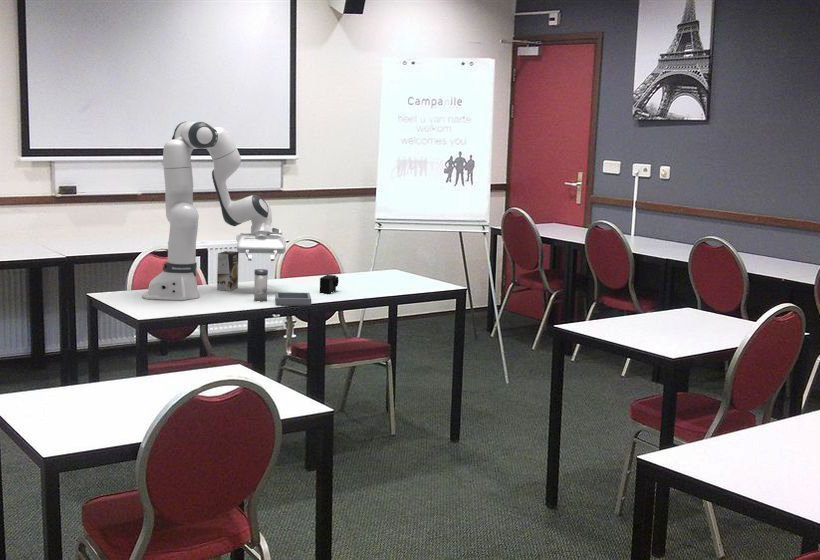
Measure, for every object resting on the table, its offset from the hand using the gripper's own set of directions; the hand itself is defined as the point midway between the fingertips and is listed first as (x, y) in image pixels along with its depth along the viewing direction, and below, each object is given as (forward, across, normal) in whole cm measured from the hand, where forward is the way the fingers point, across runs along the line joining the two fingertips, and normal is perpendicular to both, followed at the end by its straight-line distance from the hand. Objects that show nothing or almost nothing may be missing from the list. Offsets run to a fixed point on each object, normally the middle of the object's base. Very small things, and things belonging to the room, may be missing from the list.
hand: (261, 260), depth 400 cm
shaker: (+18, 0, +4) cm, 18 cm away
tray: (+21, +13, +1) cm, 25 cm away
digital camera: (+3, +30, +19) cm, 35 cm away
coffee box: (0, -14, +22) cm, 26 cm away
